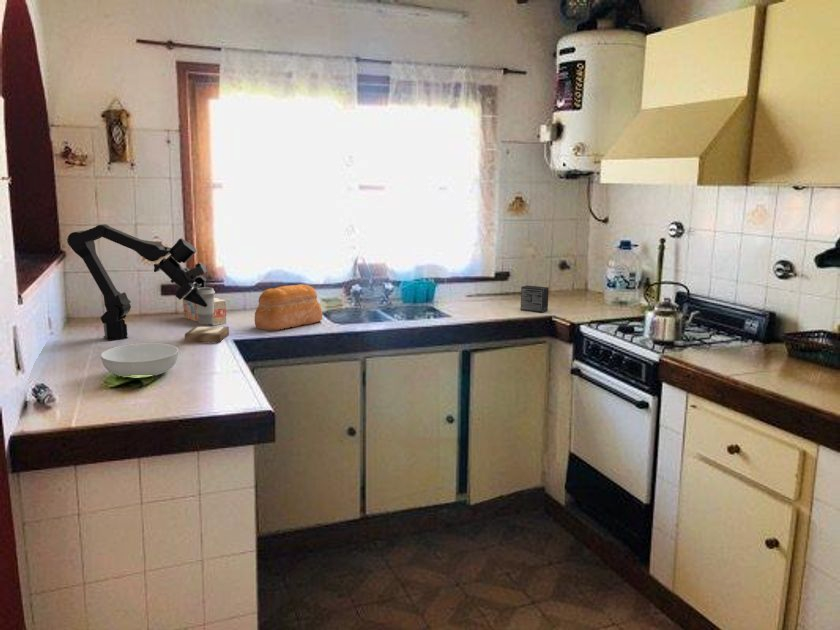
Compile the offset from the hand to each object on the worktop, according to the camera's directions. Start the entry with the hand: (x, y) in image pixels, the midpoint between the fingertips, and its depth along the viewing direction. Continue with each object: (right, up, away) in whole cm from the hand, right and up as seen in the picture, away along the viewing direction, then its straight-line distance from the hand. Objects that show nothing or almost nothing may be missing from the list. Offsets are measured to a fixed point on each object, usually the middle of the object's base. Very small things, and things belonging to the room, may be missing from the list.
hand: (209, 304), depth 243 cm
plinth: (-1, -12, +2) cm, 12 cm away
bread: (+23, -8, +26) cm, 36 cm away
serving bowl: (-7, -21, -41) cm, 47 cm away
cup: (-1, -7, +1) cm, 7 cm away
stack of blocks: (-11, -6, +32) cm, 34 cm away
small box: (+123, -2, +59) cm, 136 cm away
